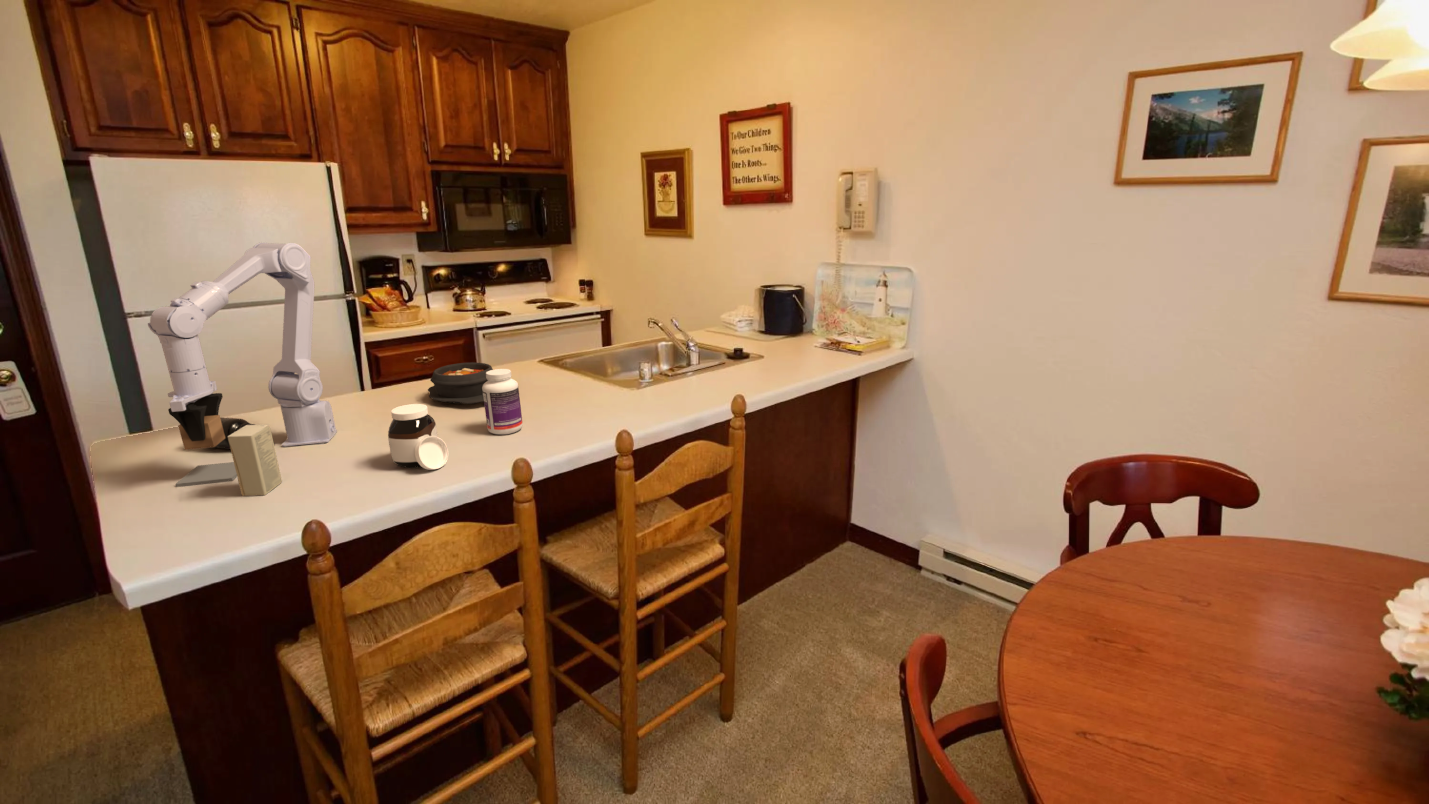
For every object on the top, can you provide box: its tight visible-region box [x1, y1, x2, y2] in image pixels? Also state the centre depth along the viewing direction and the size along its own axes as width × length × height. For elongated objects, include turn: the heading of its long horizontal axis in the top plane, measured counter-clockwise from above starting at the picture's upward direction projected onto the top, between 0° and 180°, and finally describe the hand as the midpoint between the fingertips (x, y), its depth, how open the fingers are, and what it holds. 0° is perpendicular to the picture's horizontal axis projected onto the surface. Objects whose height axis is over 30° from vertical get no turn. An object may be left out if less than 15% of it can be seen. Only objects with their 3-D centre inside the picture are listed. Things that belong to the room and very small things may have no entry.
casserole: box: [427, 362, 494, 405], centre depth 181 cm, size 25×19×8 cm
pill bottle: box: [482, 368, 523, 436], centre depth 154 cm, size 8×8×14 cm
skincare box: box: [228, 424, 283, 497], centre depth 124 cm, size 6×4×12 cm
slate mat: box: [174, 461, 238, 488], centre depth 133 cm, size 10×10×1 cm
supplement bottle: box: [213, 416, 256, 450], centre depth 146 cm, size 7×7×12 cm
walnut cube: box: [177, 414, 225, 451], centre depth 130 cm, size 5×5×5 cm
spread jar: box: [387, 403, 449, 471], centre depth 136 cm, size 12×11×12 cm
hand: (204, 435), depth 130 cm, fingers closed on walnut cube, 5 cm apart
